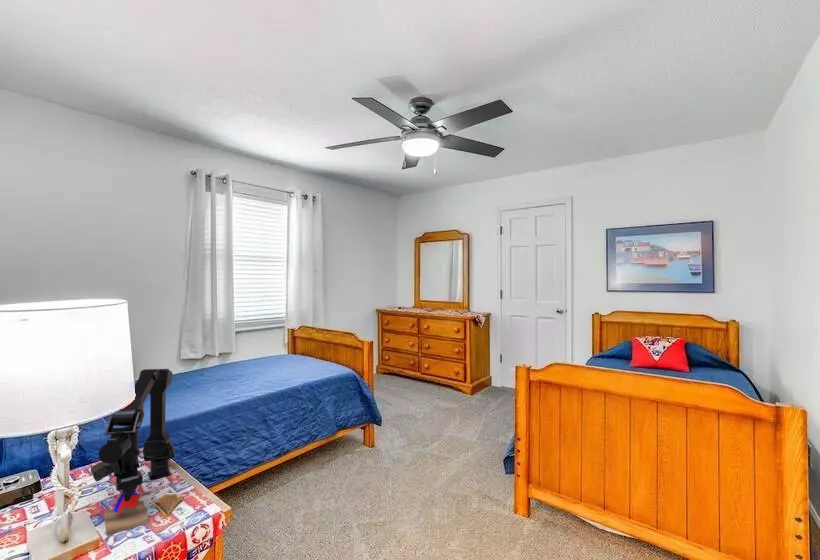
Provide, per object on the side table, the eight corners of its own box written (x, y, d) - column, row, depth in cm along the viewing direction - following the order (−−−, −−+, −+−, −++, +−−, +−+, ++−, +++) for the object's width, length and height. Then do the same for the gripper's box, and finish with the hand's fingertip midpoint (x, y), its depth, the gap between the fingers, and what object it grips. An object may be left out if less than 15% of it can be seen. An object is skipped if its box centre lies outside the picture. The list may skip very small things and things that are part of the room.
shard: (166, 519, 122) (167, 513, 122) (141, 519, 121) (141, 514, 121) (184, 499, 133) (184, 493, 133) (160, 499, 132) (160, 494, 132)
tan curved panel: (104, 515, 122) (104, 511, 122) (143, 503, 129) (143, 500, 129) (106, 536, 113) (106, 531, 113) (148, 522, 119) (148, 518, 119)
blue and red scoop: (131, 514, 120) (145, 485, 123) (116, 513, 117) (130, 483, 120) (127, 511, 122) (141, 483, 125) (112, 510, 119) (126, 481, 123)
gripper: (91, 443, 122) (91, 493, 123) (94, 467, 108) (94, 524, 108) (135, 434, 129) (135, 481, 130) (143, 456, 115) (142, 508, 116)
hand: (126, 498), depth 121 cm, fingers closed on blue and red scoop, 3 cm apart
